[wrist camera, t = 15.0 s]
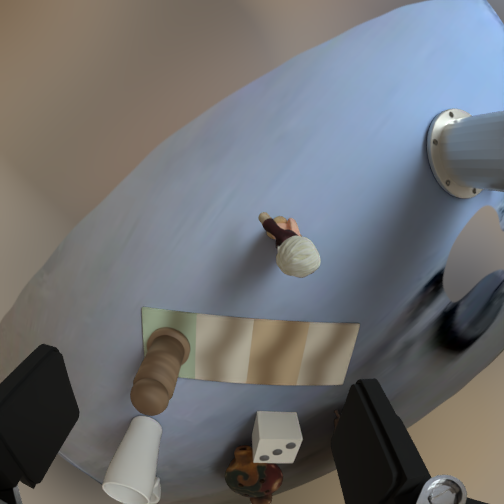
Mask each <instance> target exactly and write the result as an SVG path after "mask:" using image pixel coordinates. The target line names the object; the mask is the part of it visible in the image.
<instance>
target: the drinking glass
mask: <svg viewBox="0 0 504 504" xmlns="http://www.w3.org/2000/svg"><path fill="white" fill-rule="evenodd" d="M161 436H162V427H161V425H160V424H159V423H158V422H157V421H156V420H154V419H153V418H150V417H147V416H137V417H135V418H133V419H132V421H131V423H130V426H129V428H128V430H127V432H126V434H125V436H124V438H123V439H122V441H121V443H120V445H119V447H118V449H117V451H116V453H115V454H114V456H113V458H112V460H111V462H110V464H109V467H108V469H107V472H106V474H105V477H104V481H103V484H102V488H103V490H104V491H105V492H106V493H107V494H108V495H109V496H110V497H112V498H113V499H115V500H117V501H120V502H122V503H124V504H149V503H150V499H151V496H152V492H153V488H154V483H155V477H156V469H157V461H158V453H159V446H160V440H161Z"/></svg>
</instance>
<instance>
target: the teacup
mask: <svg viewBox="0 0 504 504" xmlns="http://www.w3.org/2000/svg"><path fill="white" fill-rule="evenodd" d="M160 495H161V485H160V478H159V477H157V476H156V477H155V483H154V488H153V492H152V496H151V499H150V503H149V504H155V503H158V502H159V500H160Z"/></svg>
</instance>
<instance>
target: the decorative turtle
mask: <svg viewBox="0 0 504 504" xmlns="http://www.w3.org/2000/svg"><path fill="white" fill-rule="evenodd" d="M234 455H235V458H234V459H233V460H232V461H231V463H230V465H229V467H228V468H227V470H226V473H225V480H226V483H227V485H228V486H229V487H230V488H231V489H232V490H233V491H234V492H236V493H237V494H239V495H241V496H245V497H250V501H251V503H252V504H270V503H271V501H272V493H273V492H275V491H276V490H277V489H278V488H279V487H280V486H281V484H282V482H283V474H282V471H281V470H280V468H279V467H278V465H277V464H276V463H253V449H252V448H251V447H250V446H248V445H243V446H239V447H237V448H236V449H235V451H234Z"/></svg>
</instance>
